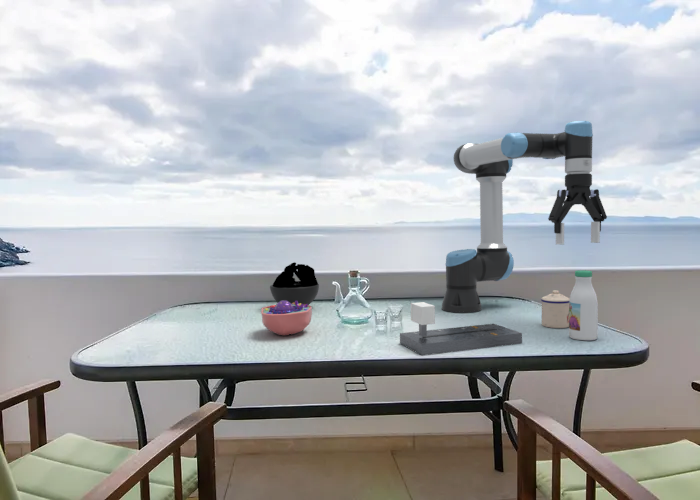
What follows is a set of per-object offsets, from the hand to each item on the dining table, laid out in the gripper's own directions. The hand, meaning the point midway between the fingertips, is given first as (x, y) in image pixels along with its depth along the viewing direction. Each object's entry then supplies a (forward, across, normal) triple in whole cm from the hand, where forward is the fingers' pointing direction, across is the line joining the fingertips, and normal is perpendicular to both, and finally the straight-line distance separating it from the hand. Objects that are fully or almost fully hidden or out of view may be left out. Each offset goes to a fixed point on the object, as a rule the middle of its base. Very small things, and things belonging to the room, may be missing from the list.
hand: (577, 243), depth 155 cm
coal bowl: (+28, -70, +80) cm, 110 cm away
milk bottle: (+28, -4, -6) cm, 29 cm away
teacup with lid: (+28, +2, +12) cm, 30 cm away
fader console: (+28, -39, +4) cm, 48 cm away
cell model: (+28, -83, +38) cm, 95 cm away
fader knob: (+24, -51, +4) cm, 57 cm away
